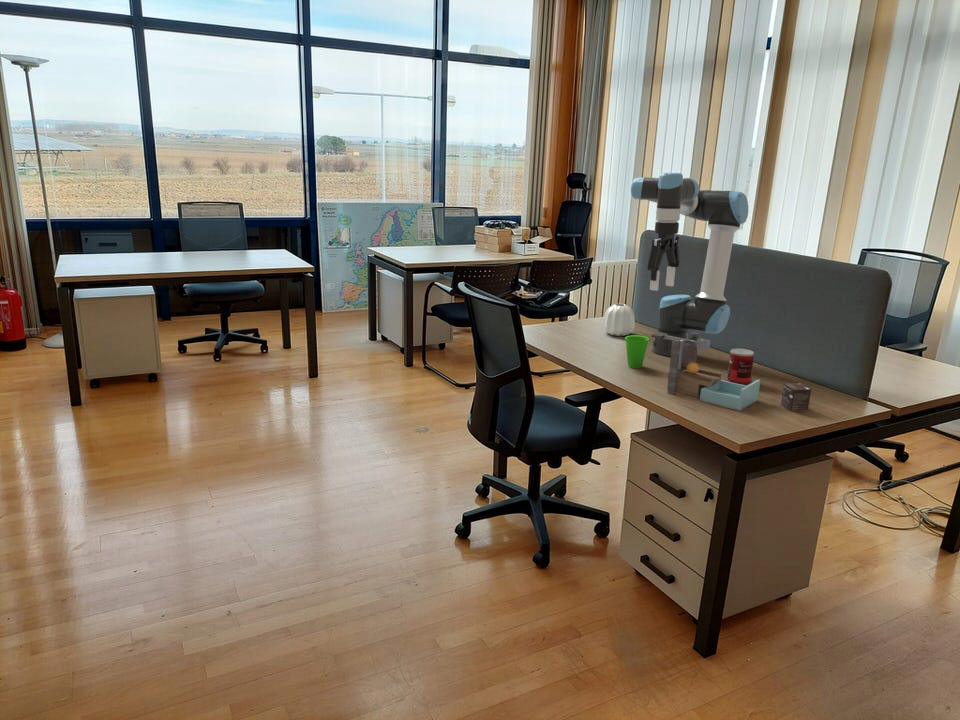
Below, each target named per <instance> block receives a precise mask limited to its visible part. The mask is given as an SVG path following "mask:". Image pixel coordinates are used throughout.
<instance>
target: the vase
mask: <svg viewBox="0 0 960 720" xmlns="http://www.w3.org/2000/svg"><path fill="white" fill-rule="evenodd" d="M635 325H636V321H635V313H634V310H633V309H632V308H631V307H630V306H628V305H627V304H624V303H615V304H612V305H610V307H608V308H607V309H606V310H605V313H604V317H603V321H602V328H603V330H604V331H605V333H607V334H608V335H611V336H618V337H620V336H621V337H622V336H623V337H624V336H630V335H631V334H632V333H633V332H634V330H635Z"/></svg>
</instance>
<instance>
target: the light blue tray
mask: <svg viewBox="0 0 960 720" xmlns="http://www.w3.org/2000/svg"><path fill="white" fill-rule="evenodd" d="M760 386H761V379H756V380H754V381H752V382H750V383H748V384H737V383H732V382H730V381H727V380H723V379H721V381H720V382H718V383H717V384H715V385H713V386H711V387H709V386H706V387H704V388H702V389H701V394H700V396H699V401H700V402H703V403H708V404H713V405H714V406H720V407H724V408H727V409H732V410H735V411H739V412H741V411H743V410H745V409H746V408H748V407H749V406H751V405H753V404H754V403H756V402H758V401H759V395H760V393H759V392H760Z"/></svg>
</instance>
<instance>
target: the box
mask: <svg viewBox="0 0 960 720" xmlns="http://www.w3.org/2000/svg"><path fill="white" fill-rule="evenodd" d="M811 392H812V389H811V388H810V387H809V386H807V385H805V384H803V383H802V382H799V383H798V382H795V383H794V382H793V383H792V382H791V383H790V382H789V383H783V389H782V394H781V395H782V396H781V402H780V405H781V406H782V407H784V408H785V409H787V410H788V411H790V412H803V411H804V412H806V411H809V406H810V399H811V394H812V393H811Z"/></svg>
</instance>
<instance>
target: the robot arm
mask: <svg viewBox="0 0 960 720" xmlns="http://www.w3.org/2000/svg"><path fill="white" fill-rule="evenodd" d="M630 194H631V196H632V198H633V199H635V200H640V201H642V200H644V201H649V202H652V203H656V211H655V220H656V222H655V224H654V225H655V226H654V233H655V234H658V236H657V238H655V239H654V238H653V239H652V243H651V250H650V254H649V258H648V259H649V260H648V263H647V270H648V271H650V281H649V283H650V284H649V290H650V291H654V292H655V291H656V292H657V291H659V285H660V283H659V282H660V270H659V268H660V266H661V263H662V260H663V256H664V254H665V255H666V259H667V264H668V266H667V267H666V275H665V276H666V277H665V286H667V287H674V286H675V275H676V268H679V266H680V265H679V264H680V251H679V250H680V249H679V248H680V247H679V240H680V237H679V236H677V234H678V233H679V227H680V223H679V221H680V217H681V215H682V216H686V217H688V218H691V219H693V220H698V221H703V222H707V227H708V228H709V229H710V235H709V239H708V244H707V245H708V246H707V250H706V256H705V261H704V263H705V264H704V268H703V274H702V281H701V284H700V285H701V286H700V291H699V293H698V294H696V295H695V297H694V300H693V299H692V296H691V295H689V294H673V295H672V294H671V295H666V296H663V297H662V298H661V299H660V302H659V303H660V304H659V307H658V308H659V311H658V312H659V313H658V324H657V333H658V332H661V333H667V334H668V336H673V337H679V338H684V339H686V338H688V337H689V336H688V331H689V330H691V331H693V332H695V331H696V332H700V333H701V332H702V333H705V334H713V335H716V334H719V333H721V332H723V330H724V329H725V328H726V326H727V324H728V322H729V319H730V316H731V307H730V306H729V305H728V304H727V299H726V297H725V296H724V291H725V287H726V282H727V276H728V270H729V265H730V260H731V253H732V248H733V242H734V236H735V233H736V232H737V231H739V229H740V226H741V224H742V225H743V224H745V223H746V222H747V219H748V216H749V201H748V198H747V196H746V194H745V193H744V192H741V191H738V190H737V191H735V190H708V189H705V190H703V189H702V190H700V186H699V183H698V181H697V180H695V179H694V178H690V177H685V178H684V175H683V174H682V173H680V172H662V173H661V174H660V175H659V177H645V176H643V177H636V178H634V179H633V180H632V183H631V187H630ZM675 235H676V236H675ZM671 348H672V340H668V339H663V338H662V339H660V338H655V337H654V339H653V343H652V346H651V351H652V352H653V353H655V354H657V355H660V356H661V355H662V356H667V357H671Z"/></svg>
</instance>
